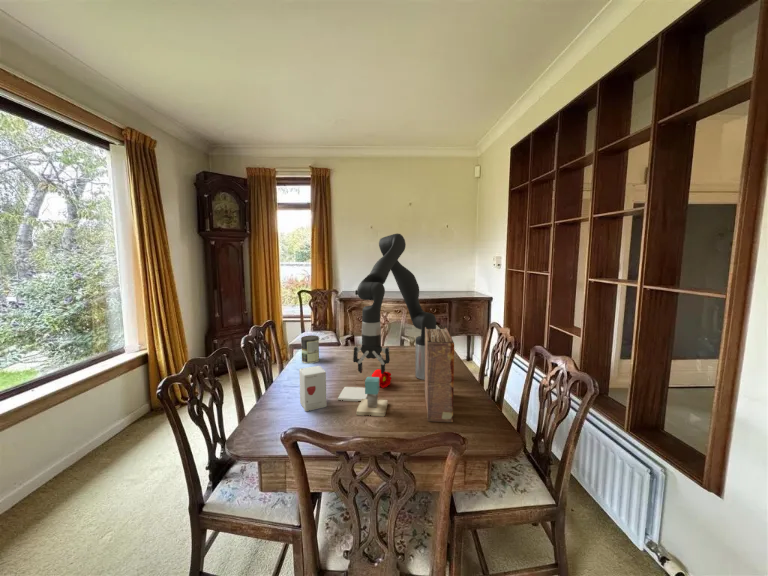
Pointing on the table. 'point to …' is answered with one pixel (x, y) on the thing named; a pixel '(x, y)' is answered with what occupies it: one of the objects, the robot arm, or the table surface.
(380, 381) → the flower
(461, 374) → the table surface
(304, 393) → the supplement box
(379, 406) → the post stand
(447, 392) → the book
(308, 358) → the coffee can
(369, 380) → the teal cube block
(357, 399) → the pad
